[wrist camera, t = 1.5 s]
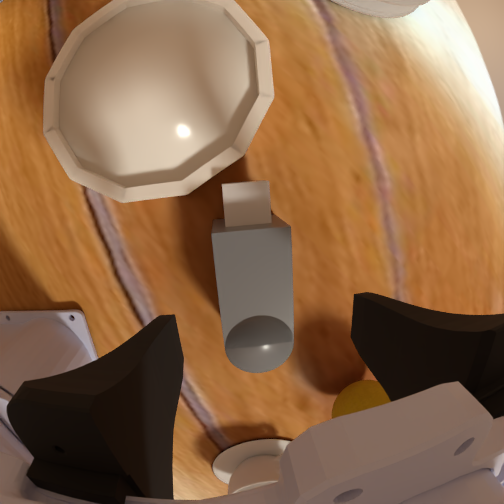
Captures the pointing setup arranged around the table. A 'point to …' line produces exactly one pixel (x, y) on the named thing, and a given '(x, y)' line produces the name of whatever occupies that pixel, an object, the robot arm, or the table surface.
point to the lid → (382, 7)
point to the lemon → (359, 398)
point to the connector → (254, 278)
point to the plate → (157, 96)
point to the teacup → (250, 464)
